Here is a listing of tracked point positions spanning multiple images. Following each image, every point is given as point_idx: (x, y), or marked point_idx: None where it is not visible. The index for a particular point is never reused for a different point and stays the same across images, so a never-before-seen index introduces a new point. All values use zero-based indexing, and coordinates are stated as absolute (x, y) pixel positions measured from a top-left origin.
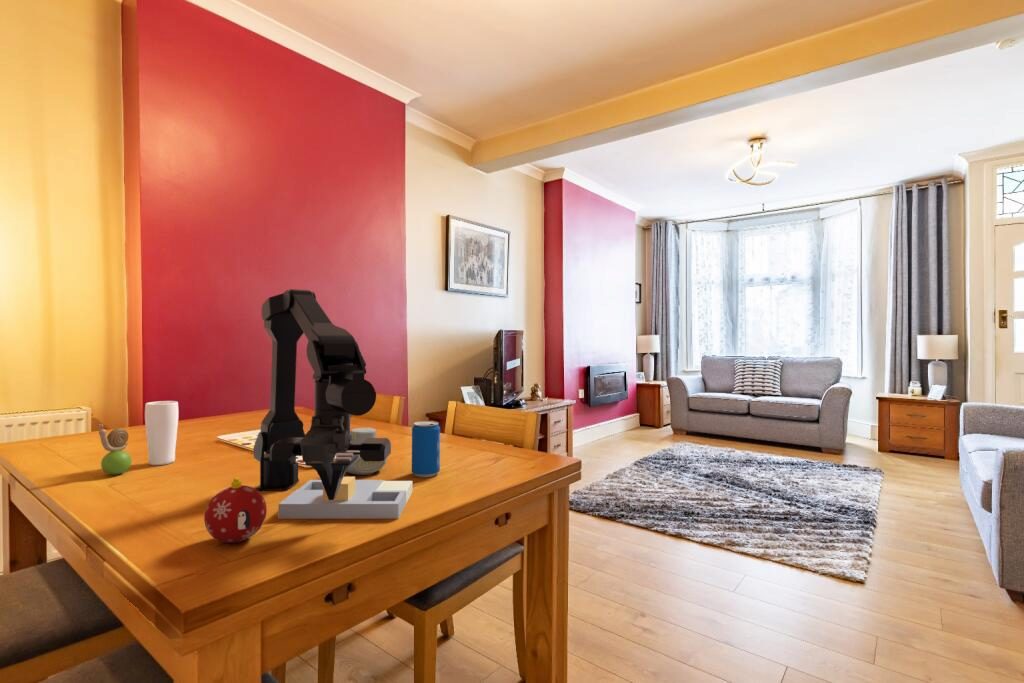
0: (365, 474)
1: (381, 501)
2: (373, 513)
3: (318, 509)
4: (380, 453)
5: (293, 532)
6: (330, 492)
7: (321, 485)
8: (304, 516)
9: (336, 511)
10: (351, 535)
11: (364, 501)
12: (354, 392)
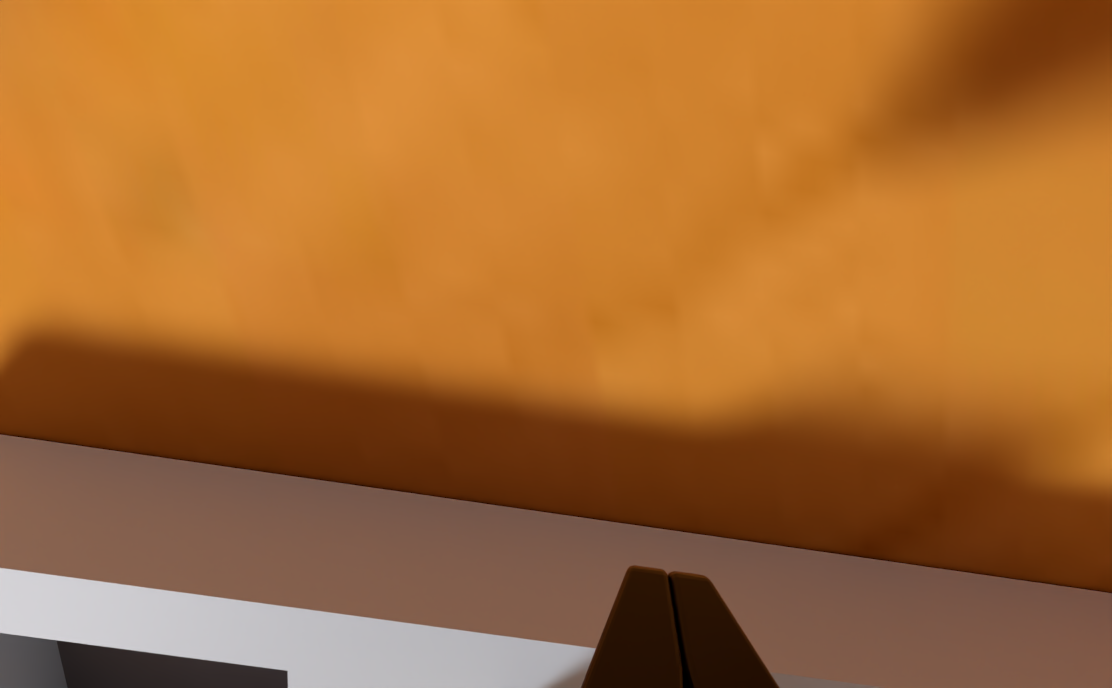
0: None
1: (95, 637)
2: (207, 503)
3: (820, 625)
4: None
5: (1075, 256)
6: (687, 665)
7: None
8: (946, 584)
9: (619, 579)
10: (350, 40)
11: (302, 665)
12: None
